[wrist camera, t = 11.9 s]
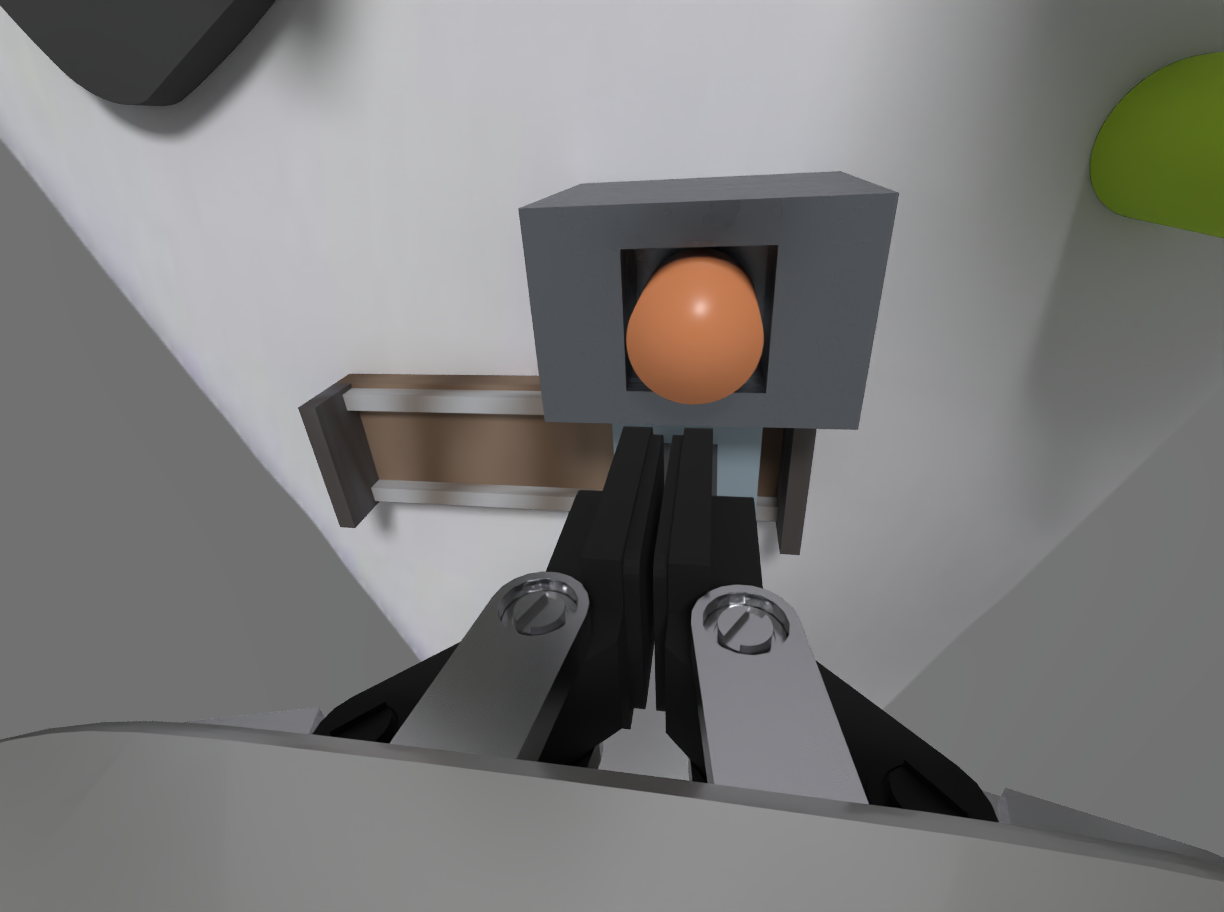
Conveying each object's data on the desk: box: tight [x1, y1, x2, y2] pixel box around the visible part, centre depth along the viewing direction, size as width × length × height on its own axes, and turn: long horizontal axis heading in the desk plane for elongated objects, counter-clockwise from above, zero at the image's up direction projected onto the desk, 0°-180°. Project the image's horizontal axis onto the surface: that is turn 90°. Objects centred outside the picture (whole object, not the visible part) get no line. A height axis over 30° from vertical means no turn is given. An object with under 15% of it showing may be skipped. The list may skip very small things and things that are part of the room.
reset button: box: [626, 248, 764, 404], centre depth 20 cm, size 4×4×4 cm
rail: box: [298, 374, 816, 555], centre depth 33 cm, size 27×8×5 cm, turn 93°
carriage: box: [612, 424, 763, 512], centre depth 27 cm, size 7×9×9 cm
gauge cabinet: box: [519, 171, 899, 430], centre depth 25 cm, size 12×8×10 cm
